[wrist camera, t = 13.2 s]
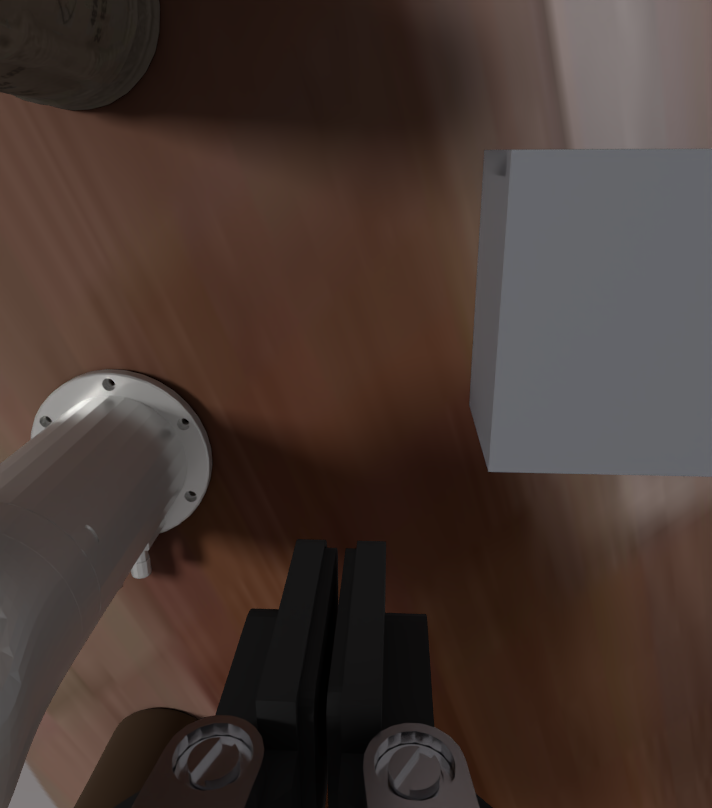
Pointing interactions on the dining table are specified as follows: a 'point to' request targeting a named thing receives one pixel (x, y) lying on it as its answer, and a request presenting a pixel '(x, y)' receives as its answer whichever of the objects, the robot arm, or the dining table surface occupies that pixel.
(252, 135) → the dining table surface
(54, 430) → the robot arm
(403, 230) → the dining table surface
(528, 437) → the grey cabinet
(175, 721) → the olive oil
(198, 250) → the dining table surface
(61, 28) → the beer stein
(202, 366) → the dining table surface
